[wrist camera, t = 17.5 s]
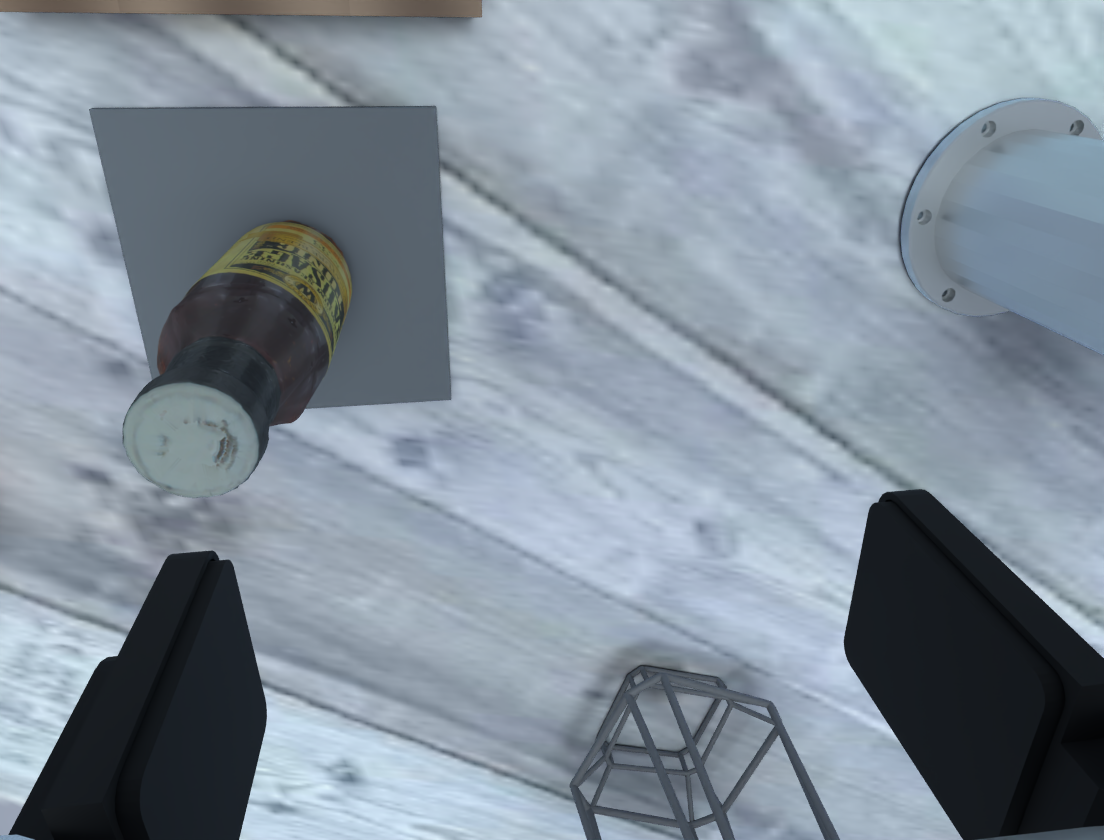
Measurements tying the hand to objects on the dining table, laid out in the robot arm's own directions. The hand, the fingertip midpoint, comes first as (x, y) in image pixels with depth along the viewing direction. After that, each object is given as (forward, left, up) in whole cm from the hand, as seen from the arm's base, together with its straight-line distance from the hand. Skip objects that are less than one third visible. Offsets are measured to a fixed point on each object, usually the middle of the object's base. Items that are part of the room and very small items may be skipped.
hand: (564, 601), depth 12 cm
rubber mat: (+8, +4, -34) cm, 35 cm away
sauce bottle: (+8, +4, -34) cm, 35 cm away
